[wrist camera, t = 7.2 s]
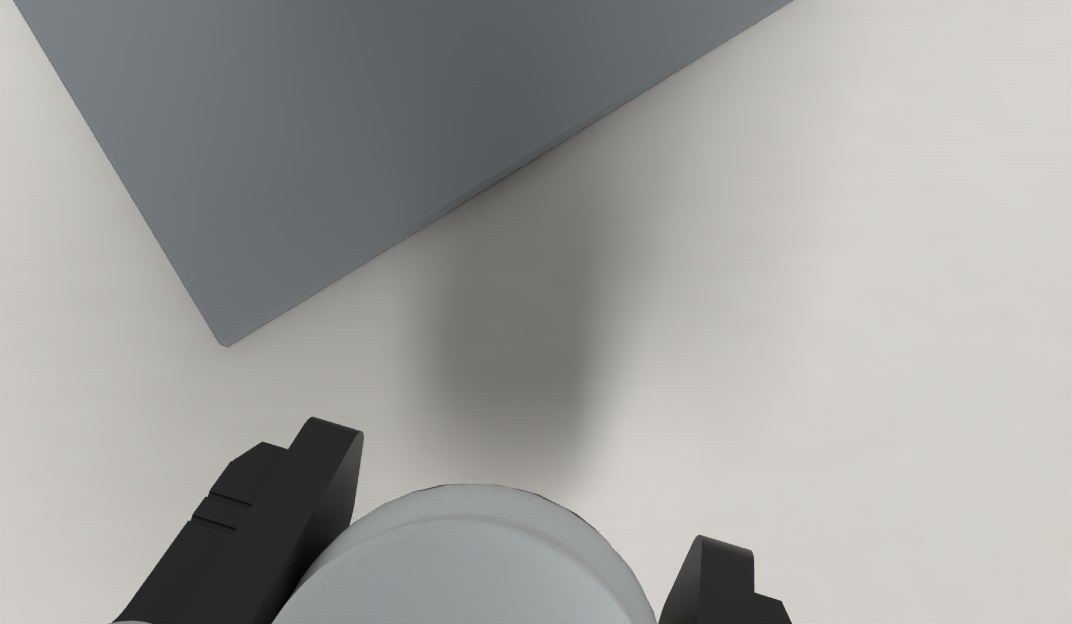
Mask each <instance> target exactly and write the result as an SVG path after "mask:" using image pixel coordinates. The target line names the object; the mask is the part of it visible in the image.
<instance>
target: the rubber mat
mask: <svg viewBox="0 0 1072 624" xmlns="http://www.w3.org/2000/svg"><path fill="white" fill-rule="evenodd" d="M13 1H14V2H15V4H16V6H17V7H18V9H19V11H20V12H21V14H22V16H23V17H24V19H25V21H26V22H27V24H28V26H29V27H30V29H31V31H32V32H33V34H34V36H35V37H36V39H37V41H38V42H39V44H40V46H41V47H42V49H43V51H44V52H45V54H46V56H47V57H48V59H49V61H50V62H51V64H52V66H53V67H54V69H55V71H56V72H57V74H58V76H59V77H60V79H61V81H62V82H63V84H64V86H65V87H66V89H67V91H68V92H69V94H70V96H71V97H72V99H73V101H74V102H75V104H76V106H77V107H78V109H79V111H80V112H81V114H82V116H83V118H84V119H85V121H86V123H87V124H88V126H89V128H90V129H91V131H92V133H93V134H94V136H95V138H96V139H97V141H98V143H99V144H100V146H101V148H102V149H103V151H104V153H105V154H106V156H107V158H108V159H109V161H110V163H111V164H112V166H113V168H114V169H115V171H116V173H117V174H118V176H119V178H120V179H121V181H122V183H123V184H124V186H125V188H126V189H127V191H128V193H129V194H130V196H131V198H132V199H133V201H134V203H135V204H136V206H137V208H138V209H139V211H140V213H141V214H142V216H143V218H144V219H145V221H146V223H147V224H148V226H149V228H150V229H151V231H152V233H153V234H154V236H155V238H156V239H157V241H158V243H159V244H160V246H161V248H162V249H163V251H164V253H165V254H166V256H167V258H168V259H169V261H170V263H171V264H172V266H173V268H174V269H175V271H176V273H177V274H178V276H179V278H180V279H181V281H182V283H183V284H184V286H185V288H186V289H187V291H188V293H189V294H190V296H191V298H192V299H193V301H194V303H195V304H196V306H197V308H198V309H199V311H200V313H201V314H202V316H203V318H204V319H205V321H206V323H207V324H208V326H209V328H210V329H211V331H212V333H213V334H214V336H215V338H216V339H217V341H218V343H219V344H221V345H223V346H225V347H229V346H231V345H232V344H234V343H235V342H237V341H239V340H240V339H242V338H244V337H245V336H247V335H248V334H250V333H252V332H253V331H255V330H257V329H258V328H260V327H262V326H263V325H265V324H266V323H268V322H270V321H271V320H273V319H275V318H276V317H278V316H279V315H281V314H283V313H284V312H286V311H288V310H289V309H291V308H292V307H294V306H296V305H297V304H299V303H301V302H302V301H304V300H306V299H307V298H309V297H310V296H312V295H314V294H315V293H317V292H319V291H320V290H322V289H323V288H325V287H327V286H328V285H330V284H332V283H333V282H335V281H336V280H338V279H340V278H341V277H343V276H345V275H346V274H348V273H349V272H351V271H353V270H354V269H356V268H358V267H359V266H361V265H363V264H364V263H366V262H367V261H369V260H371V259H372V258H374V257H376V256H377V255H379V254H380V253H382V252H384V251H385V250H387V249H389V248H390V247H392V246H393V245H395V244H397V243H398V242H400V241H402V240H403V239H405V238H407V237H408V236H410V235H411V234H413V233H415V232H416V231H418V230H420V229H421V228H423V227H424V226H426V225H428V224H429V223H431V222H433V221H434V220H436V219H437V218H439V217H441V216H442V215H444V214H446V213H447V212H449V211H451V210H452V209H454V208H455V207H457V206H459V205H460V204H462V203H464V202H465V201H467V200H468V199H470V198H472V197H473V196H475V195H477V194H478V193H480V192H481V191H483V190H485V189H486V188H488V187H490V186H491V185H493V184H494V183H496V182H498V181H499V180H501V179H503V178H504V177H506V176H508V175H509V174H511V173H512V172H514V171H516V170H517V169H519V168H521V167H522V166H524V165H525V164H527V163H529V162H530V161H532V160H534V159H535V158H537V157H538V156H540V155H542V154H543V153H545V152H547V151H548V150H550V149H552V148H553V147H555V146H556V145H558V144H560V143H561V142H563V141H565V140H566V139H568V138H569V137H571V136H573V135H574V134H576V133H578V132H579V131H581V130H582V129H584V128H586V127H587V126H589V125H591V124H592V123H594V122H596V121H597V120H599V119H600V118H602V117H604V116H605V115H607V114H609V113H610V112H612V111H613V110H615V109H617V108H618V107H620V106H622V105H623V104H625V103H626V102H628V101H630V100H631V99H633V98H635V97H636V96H638V95H639V94H641V93H643V92H644V91H646V90H648V89H649V88H651V87H653V86H654V85H656V84H657V83H659V82H661V81H662V80H664V79H666V78H667V77H669V76H670V75H672V74H674V73H675V72H677V71H679V70H680V69H682V68H683V67H685V66H687V65H688V64H690V63H692V62H693V61H695V60H697V59H698V58H700V57H701V56H703V55H705V54H706V53H708V52H710V51H711V50H713V49H714V48H716V47H718V46H719V45H721V44H723V43H724V42H726V41H727V40H729V39H731V38H732V37H734V36H736V35H737V34H739V33H741V32H742V31H744V30H745V29H747V28H749V27H750V26H752V25H754V24H755V23H757V22H758V21H760V20H762V19H763V18H765V17H767V16H768V15H770V14H771V13H773V12H775V11H776V10H778V9H780V8H781V7H783V6H784V5H786V4H788V3H789V2H791V1H793V0H13Z"/></svg>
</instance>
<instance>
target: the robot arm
mask: <svg viewBox="0 0 1072 624" xmlns="http://www.w3.org/2000/svg"><path fill="white" fill-rule="evenodd" d="M363 440H364V435H363V432H362V431H359V430H355V429H352V428H349V427H345V426H342V425H339V424H335V423H332V422H329V421H325V420H322V419H319V418H316V417H311V418H309V419H308V420H307V421H306V423H305V424H304V426H303V427H302V429H301V430H300V432H299V433H298V435H297V436H296V438H295V439H294V441H293V443H292V444H291V446H290V447H289V449H285V448H282V447H278V446H275V445H272V444H269V443H265V442H261V443H259V444H258V445H256V446H255V447H253V448H252V449H250V450H249V451H247V452H245V453H244V454H242V455H241V456H239V457H238V458H236V459H234V460H233V461H231V462H230V463H229V464H228V466H227V467H226V469H225V470H224V471H223V473H222V474H221V476H220V477H219V478H218V480H217V481H216V483H215V484H214V485H213V487H212V488H211V490H210V491H209V495H208V497H205V498H204V499H203V501H202V502H201V504H200V505H199V506H198V508H197V509H196V511H195V512H194V513H193V515H192V519H191V520H190V521H188V522H187V523H186V525H185V526H184V527H183V529H182V530H181V531H180V533H179V534H178V536H177V537H176V538H175V540H174V541H173V543H172V544H171V545H170V547H169V548H168V550H167V551H166V552H165V554H164V555H163V557H162V558H161V559H160V561H159V562H158V564H157V565H156V566H155V568H154V569H153V571H152V572H151V573H150V575H149V576H148V578H147V579H146V580H145V582H144V583H143V585H142V586H141V587H140V589H139V590H138V592H137V593H136V594H135V596H134V597H133V598H132V600H131V601H130V603H129V604H128V605H127V607H126V608H125V609H124V611H123V612H122V613H121V614H120V615H119V616H118V617H117V618H116V619H115V620H114V621H113V622H112V623H109V624H272V622H273V621H274V619H275V618H276V617H277V615H278V614H279V612H280V611H281V609H282V608H283V607H284V605H285V604H286V602H287V601H288V600H289V598H290V597H291V595H292V593H293V591H294V590H295V588H296V587H297V585H298V583H299V582H300V580H301V578H302V577H303V576H304V574H305V573H306V571H307V570H308V569H309V567H310V566H311V565H312V564H313V562H314V561H315V560H316V559H317V557H318V556H319V555H320V554H321V553H322V552H323V551H324V550H325V549H326V548H327V547H328V546H329V545H330V544H331V543H332V542H333V541H334V540H335V539H336V538H337V537H338V536H339V535H340V534H341V533H342V532H343V531H344V530H345V529H347V528H348V527H349V524H350V521H351V517H352V514H353V509H354V503H355V496H356V489H357V482H358V476H359V469H360V462H361V455H362V448H363ZM658 624H792V623H791V621H790V618H789V616H788V614H787V612H786V610H785V608H784V605H783V603H782V601H780V600H777V599H773V598H770V597H767V596H764V595H760V594H757V593H754V556H753V553H752V551H751V550H748V549H745V548H742V547H738V546H735V545H732V544H728V543H725V542H722V541H718V540H715V539H712V538H709V537H705V536H702V535H698V536H697V537H696V538H695V540H694V541H693V543H692V545H691V548H690V550H689V552H688V554H687V556H686V558H685V561H684V563H683V565H682V567H681V569H680V572H679V574H678V576H677V578H676V580H675V582H674V585H673V587H672V589H671V591H670V593H669V595H668V598H667V600H666V602H665V604H664V607H663V610H662V613H661V616H660V619H659V623H658Z"/></svg>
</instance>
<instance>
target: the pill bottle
mask: <svg viewBox="0 0 1072 624" xmlns="http://www.w3.org/2000/svg"><path fill="white" fill-rule="evenodd" d="M272 624H657V621H656V618H655V615H654V612H653V610H652V608H651V606H650V603H649V601H648V600H647V598H646V596H645V593H644V591H643V589H642V587H641V585H640V583H639V582H638V580H637V578H636V576H635V574H634V573H633V571H632V570H631V568H630V567H629V566H628V565H627V564H626V562H625V561H624V560H623V559H622V557H621V556H620V555H619V554H618V553H617V552H616V551H615V550H614V549H613V548H612V546H611V545H610V544H609V542H608V541H607V540H606V539H605V538H604V537H603V536H602V535H601V534H600V533H599V532H598V531H597V530H596V529H595V528H593V527H592V526H591V525H590V524H588V523H587V522H586V521H585V520H584V519H582V518H581V517H580V516H579V515H577V514H575V513H574V512H572V511H570V510H568V509H566V508H564V507H562V506H560V505H558V504H556V503H554V502H552V501H550V500H548V499H546V498H544V497H542V496H540V495H538V494H535V493H531V492H527V491H523V490H519V489H514V488H509V487H504V486H499V485H475V484H451V485H440V486H436V487H432V488H428V489H424V490H419V491H414V492H411V493H409V494H407V495H405V496H402V497H400V498H398V499H395V500H393V501H390V502H388V503H385V504H383V505H381V506H380V507H378V508H377V509H375V510H373V511H372V512H370V513H369V514H367V515H365V516H364V517H362V518H360V519H359V520H357V521H356V522H354V523H353V524H352V525H350V526H349V527H348V528H347V529H345V530H344V531H343V532H342V533H341V534H340V535H339V536H338V537H337V538H336V539H335V540H334V541H333V542H332V543H331V544H330V545H329V546H328V547H327V548H326V549H325V550H324V551H323V552H322V553H321V554H320V555H319V556H318V557H317V559H316V560H315V561H314V562H313V564H312V565H311V566H310V567H309V569H308V570H307V571H306V573H305V574H304V576H303V577H302V578H301V580H300V582H299V583H298V585H297V587H296V588H295V590H294V591H293V593H292V595H291V597H290V598H289V600H288V601H287V602H286V604H285V605H284V607H283V608H282V609H281V611H280V612H279V614H278V615H277V617H276V618H275V619H274V621H273V622H272Z"/></svg>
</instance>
